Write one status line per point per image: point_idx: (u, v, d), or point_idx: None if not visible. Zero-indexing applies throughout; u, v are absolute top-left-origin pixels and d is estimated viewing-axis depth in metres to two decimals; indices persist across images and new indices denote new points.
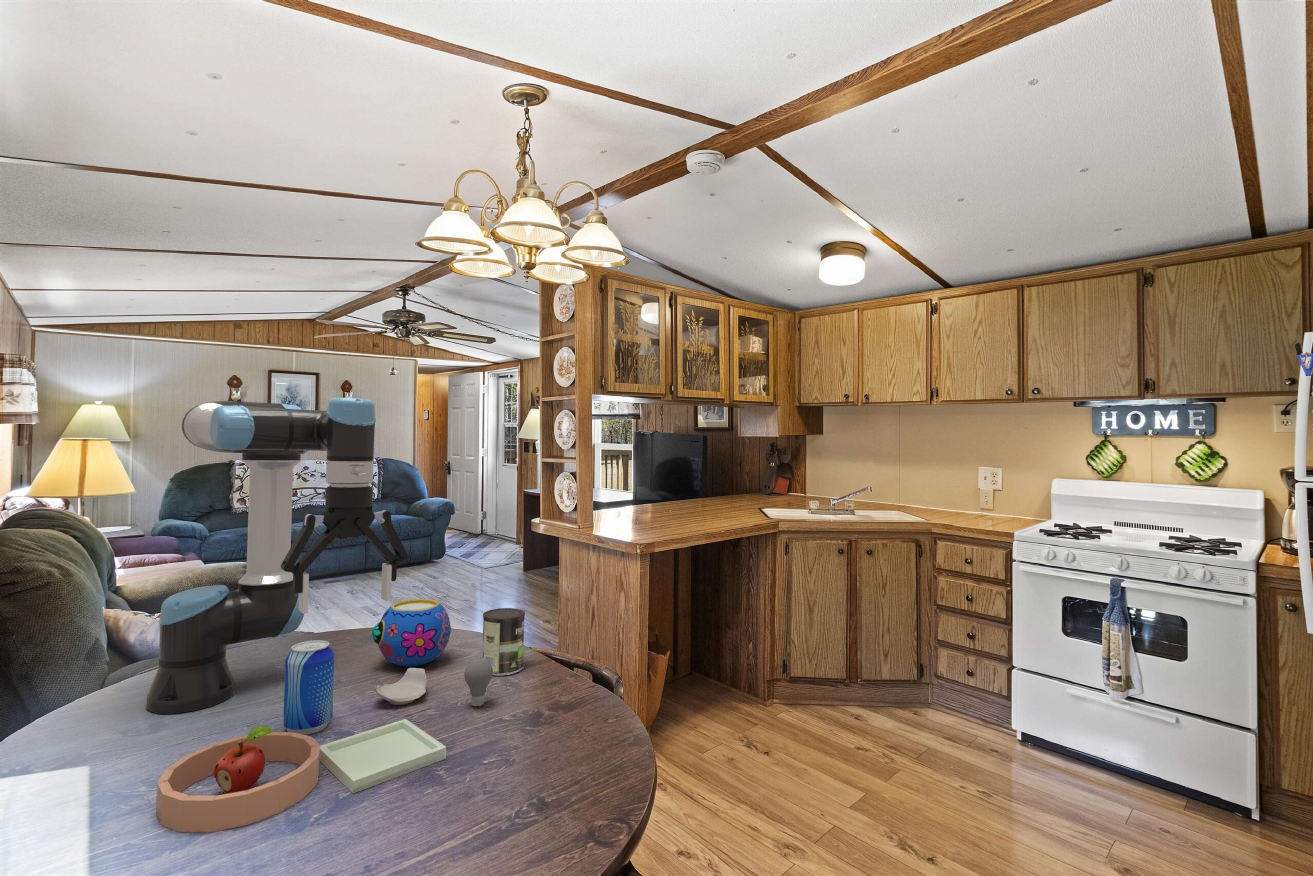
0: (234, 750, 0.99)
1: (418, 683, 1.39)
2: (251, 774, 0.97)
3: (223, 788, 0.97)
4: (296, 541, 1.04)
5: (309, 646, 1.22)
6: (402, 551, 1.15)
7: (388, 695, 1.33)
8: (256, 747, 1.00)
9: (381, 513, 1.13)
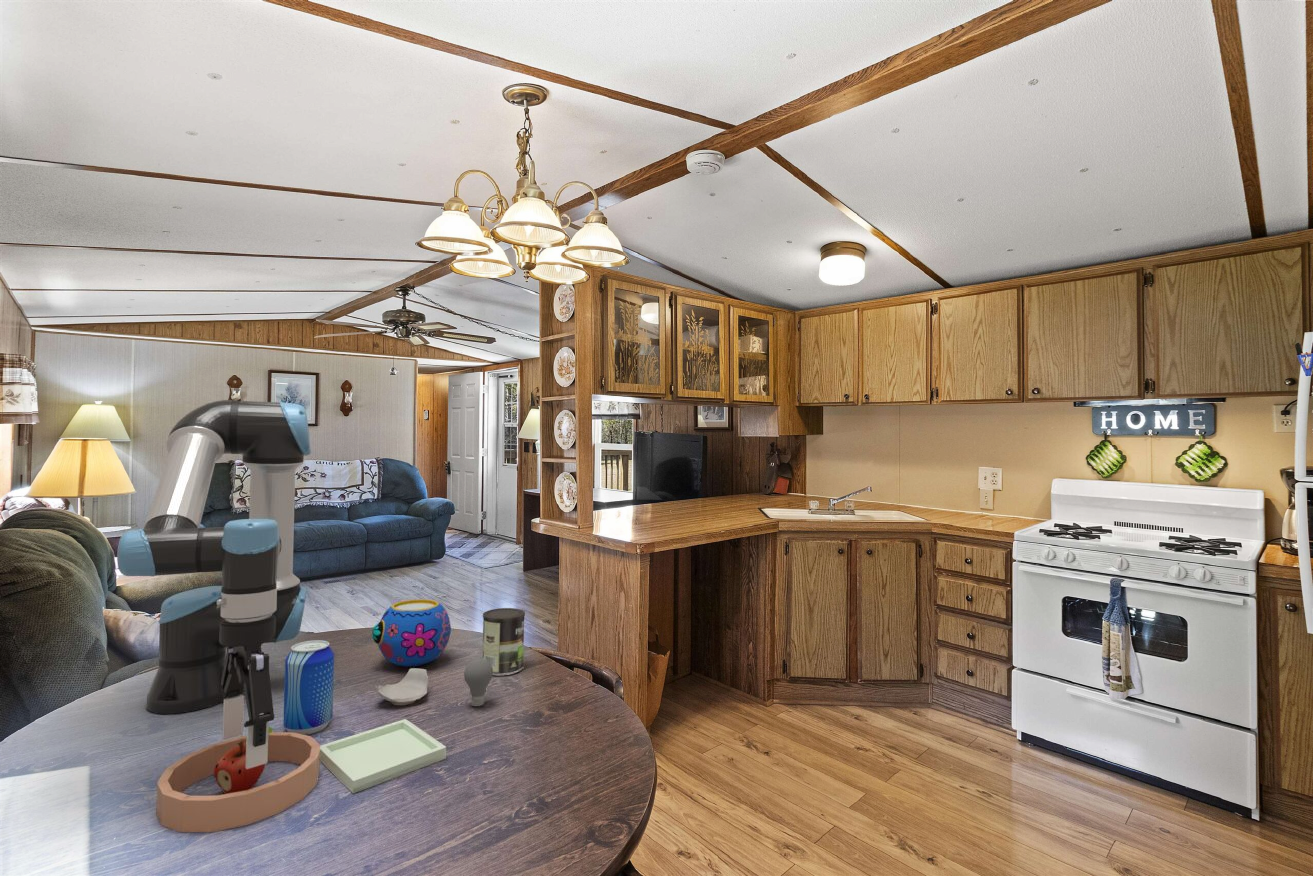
0: (234, 750, 0.99)
1: (420, 683, 1.39)
2: (251, 774, 0.97)
3: (223, 788, 0.97)
4: None
5: (309, 646, 1.22)
6: (253, 713, 0.92)
7: (390, 695, 1.33)
8: None
9: None
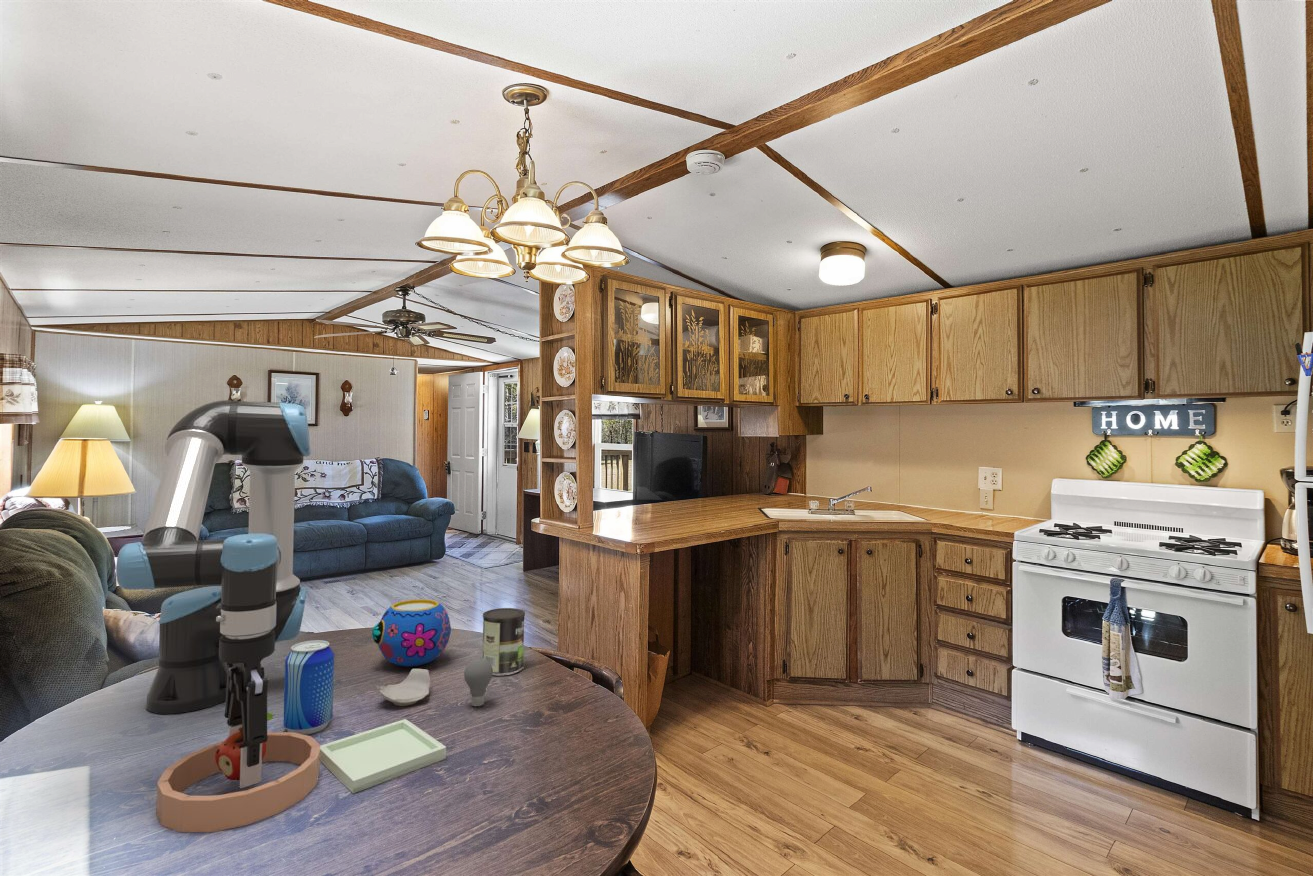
0: (235, 736, 1.00)
1: (422, 684, 1.39)
2: None
3: (224, 773, 0.97)
4: None
5: (309, 646, 1.22)
6: (248, 735, 0.94)
7: (392, 695, 1.32)
8: None
9: (253, 680, 0.96)
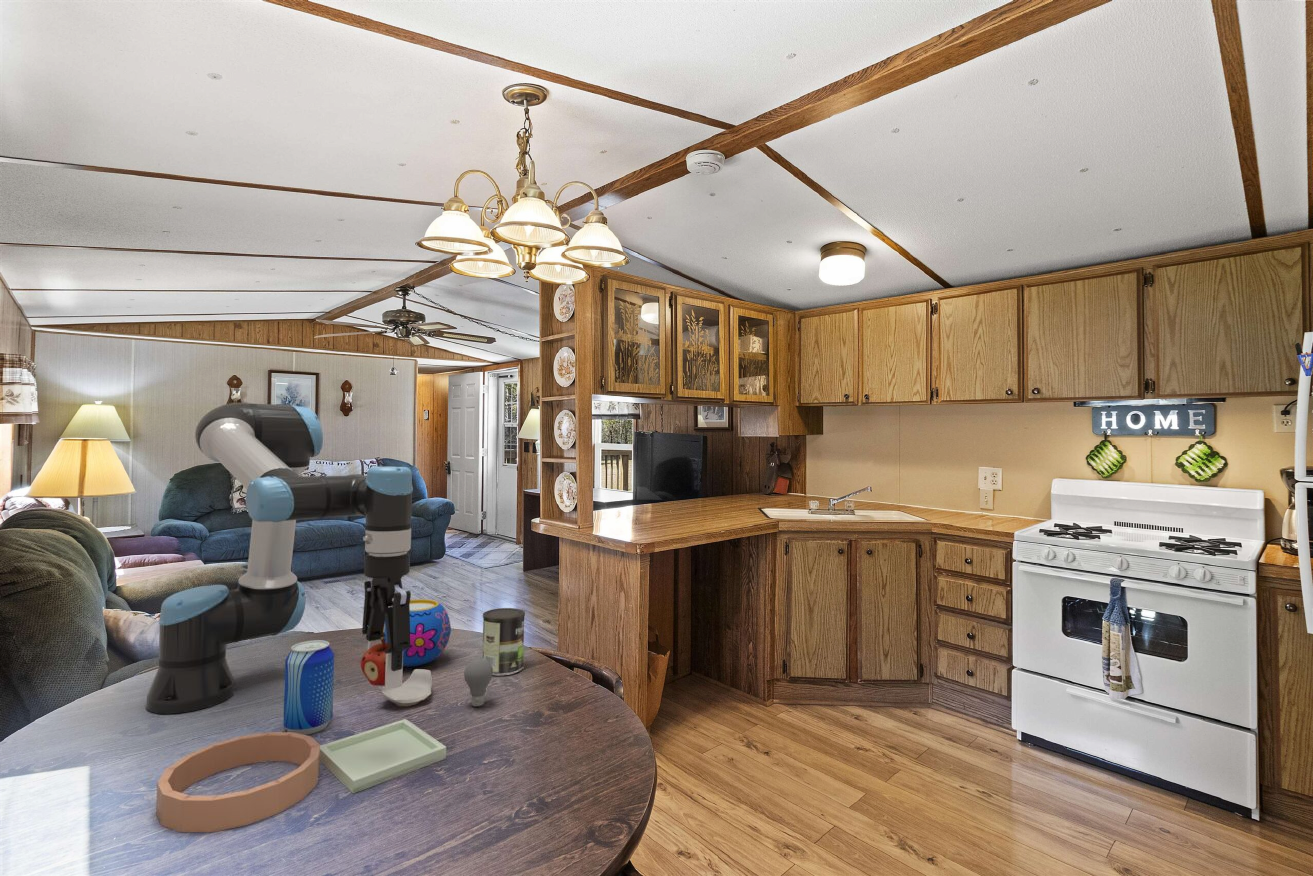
0: (376, 647, 1.11)
1: (424, 684, 1.38)
2: None
3: (369, 678, 1.08)
4: None
5: (309, 646, 1.22)
6: (394, 641, 1.05)
7: (394, 696, 1.32)
8: None
9: (397, 592, 1.07)
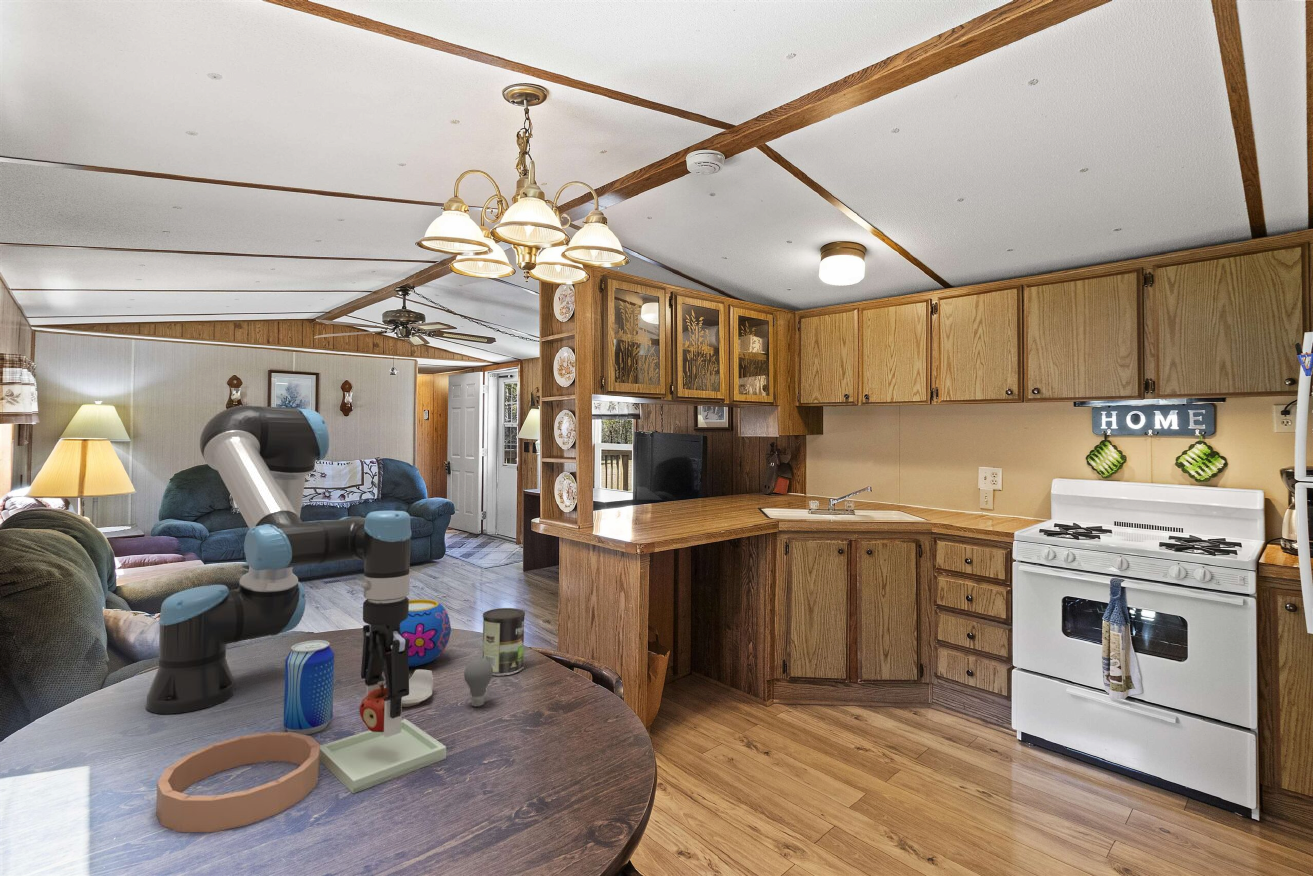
0: (375, 692, 1.10)
1: (425, 685, 1.38)
2: None
3: (368, 725, 1.08)
4: None
5: (309, 646, 1.22)
6: (393, 688, 1.05)
7: None
8: None
9: (396, 639, 1.07)
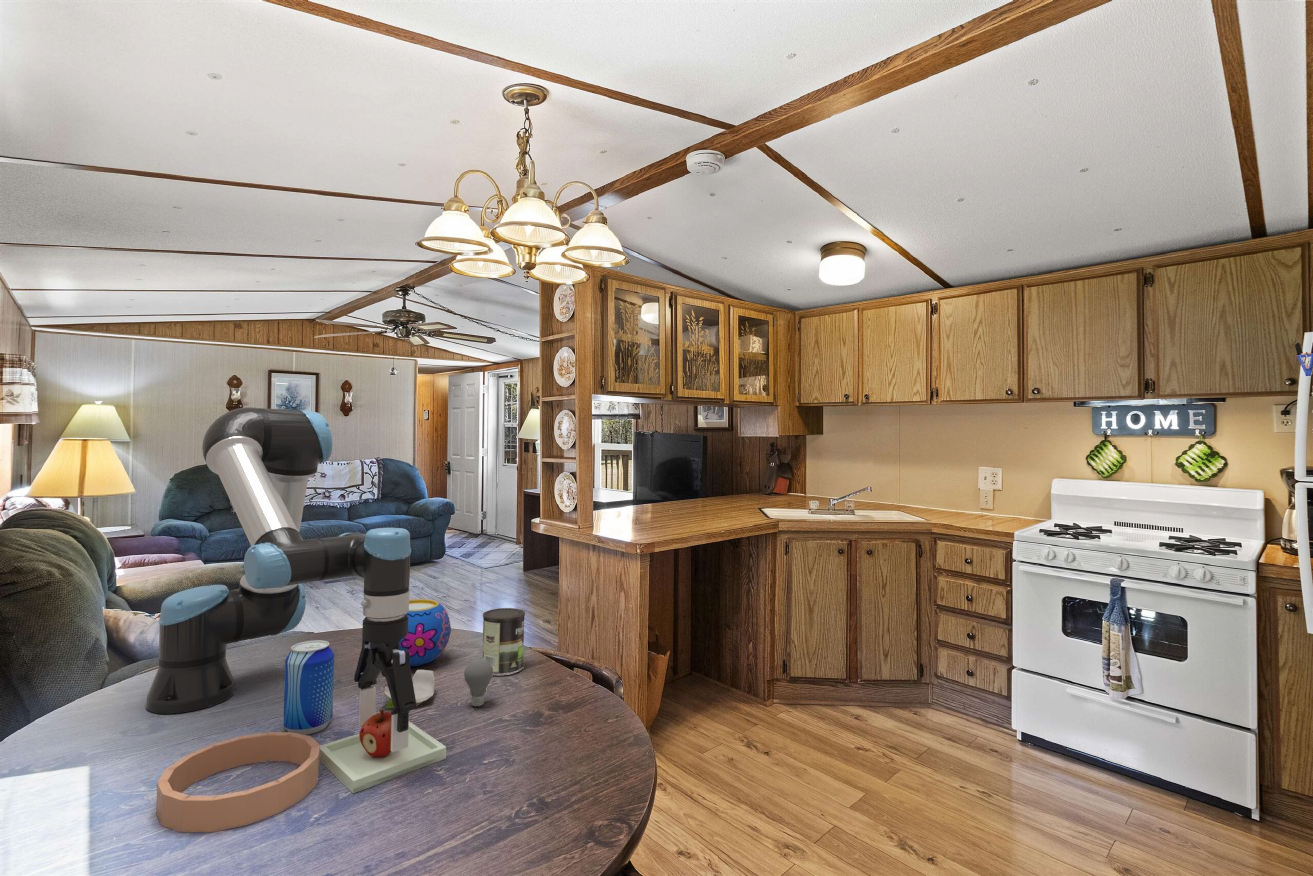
0: (375, 717, 1.10)
1: (426, 685, 1.38)
2: None
3: (368, 750, 1.08)
4: None
5: (309, 646, 1.22)
6: (400, 702, 1.04)
7: None
8: None
9: None
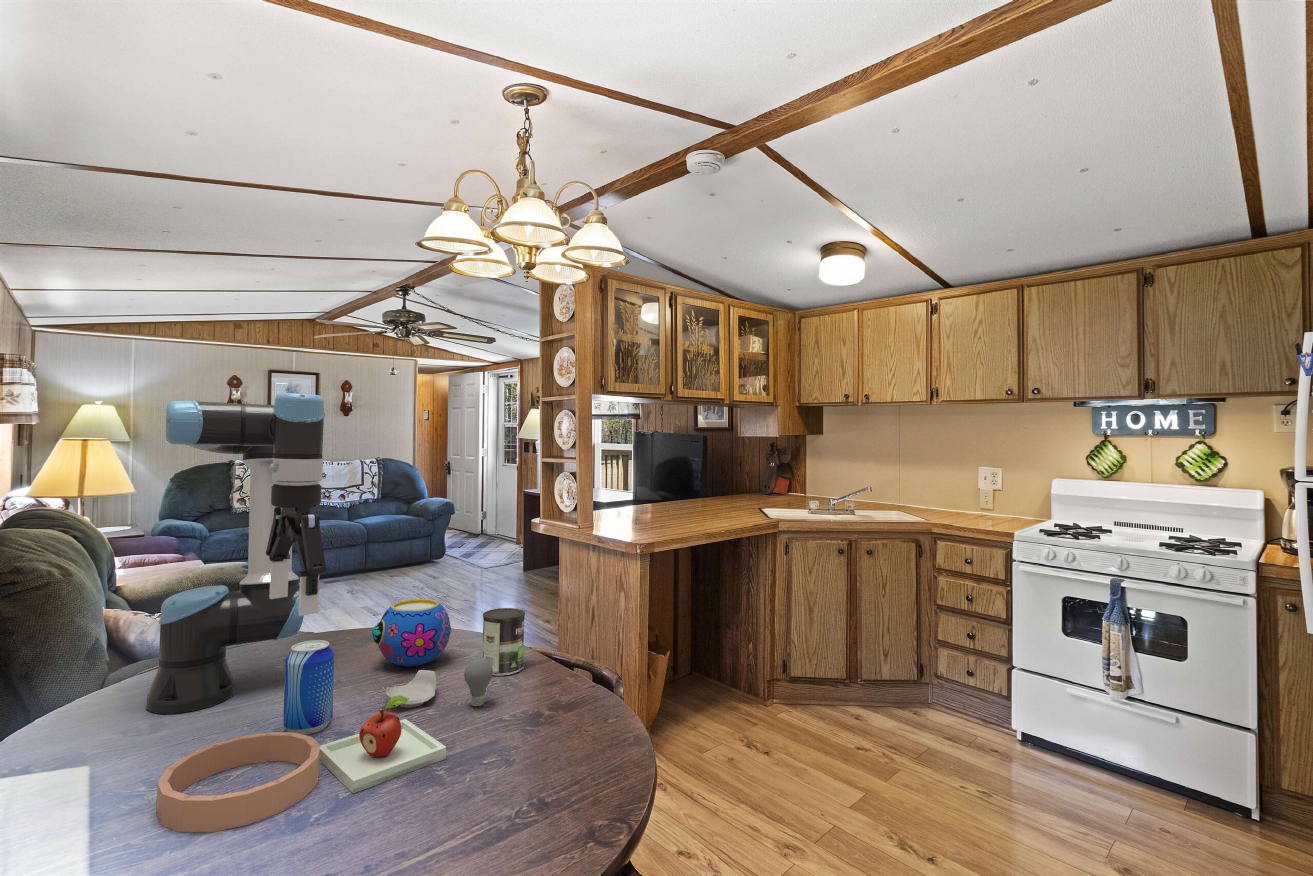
0: (375, 717, 1.10)
1: (428, 685, 1.38)
2: (393, 738, 1.08)
3: (368, 750, 1.08)
4: None
5: (309, 646, 1.22)
6: (307, 564, 1.00)
7: None
8: (394, 714, 1.11)
9: None
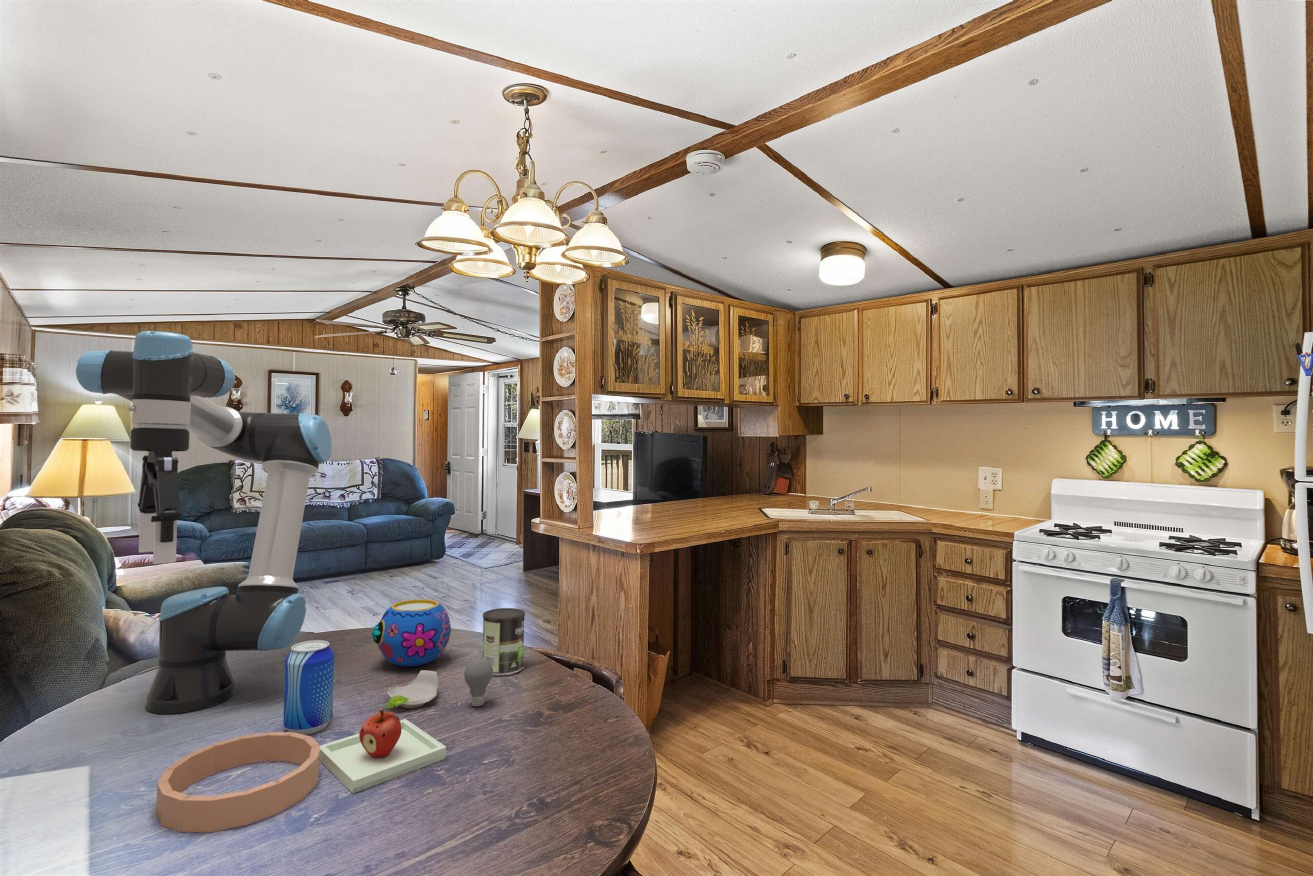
0: (375, 717, 1.10)
1: (430, 686, 1.38)
2: (393, 738, 1.08)
3: (368, 750, 1.08)
4: None
5: (309, 646, 1.22)
6: (159, 507, 0.94)
7: None
8: (394, 714, 1.11)
9: None
